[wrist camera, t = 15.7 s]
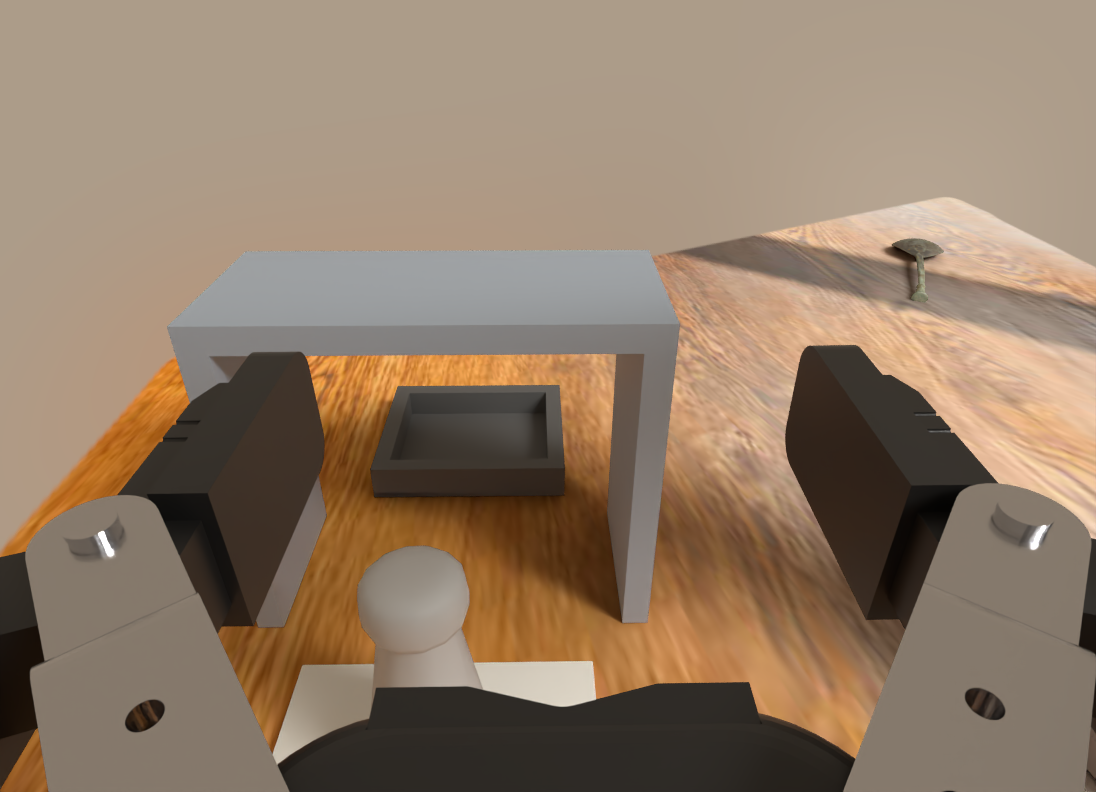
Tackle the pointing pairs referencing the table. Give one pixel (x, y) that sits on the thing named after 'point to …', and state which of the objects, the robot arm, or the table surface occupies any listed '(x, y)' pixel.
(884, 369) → the table surface
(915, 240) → the soupspoon
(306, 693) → the pad
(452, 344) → the gate
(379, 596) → the salt shaker
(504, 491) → the pit box
